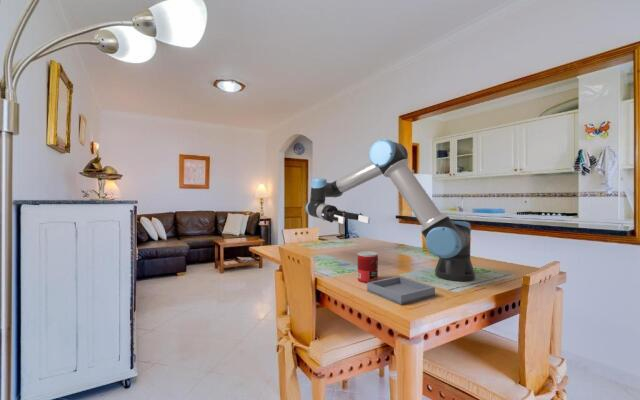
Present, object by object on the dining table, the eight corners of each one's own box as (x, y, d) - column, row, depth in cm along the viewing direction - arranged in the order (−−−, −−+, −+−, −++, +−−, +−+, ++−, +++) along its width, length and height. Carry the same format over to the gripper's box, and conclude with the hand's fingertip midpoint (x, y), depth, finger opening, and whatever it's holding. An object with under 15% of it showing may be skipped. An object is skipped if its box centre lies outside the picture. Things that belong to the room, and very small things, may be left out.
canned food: (373, 284, 115) (373, 255, 115) (354, 281, 119) (354, 253, 119) (380, 279, 121) (380, 252, 121) (362, 277, 126) (362, 250, 125)
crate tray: (399, 284, 116) (399, 276, 116) (435, 296, 102) (435, 287, 102) (367, 291, 107) (367, 282, 107) (401, 305, 94) (401, 295, 94)
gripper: (347, 220, 152) (377, 228, 134) (304, 220, 138) (331, 230, 120) (349, 205, 151) (379, 211, 133) (305, 204, 137) (333, 211, 119)
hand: (356, 220), depth 127 cm, fingers open, 13 cm apart
